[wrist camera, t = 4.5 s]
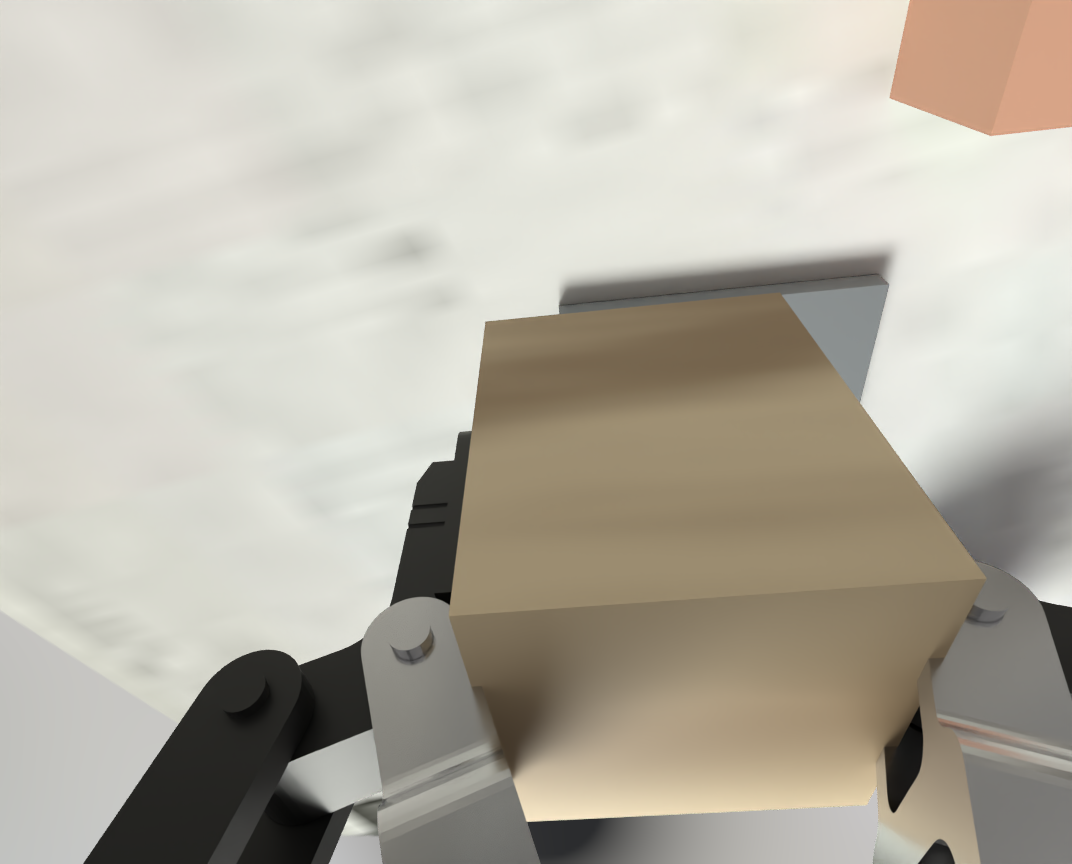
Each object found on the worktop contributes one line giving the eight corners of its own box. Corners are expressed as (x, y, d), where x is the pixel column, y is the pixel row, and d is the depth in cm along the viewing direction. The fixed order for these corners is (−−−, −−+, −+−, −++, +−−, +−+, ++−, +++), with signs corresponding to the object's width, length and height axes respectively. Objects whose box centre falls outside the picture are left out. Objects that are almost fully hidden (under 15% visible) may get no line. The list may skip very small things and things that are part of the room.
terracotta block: (928, -90, 18) (1065, -111, 14) (1105, -115, 18) (1312, -145, 13) (888, 97, 21) (991, 135, 17) (1040, 80, 21) (1189, 113, 16)
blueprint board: (558, 305, 26) (559, 318, 25) (878, 274, 25) (891, 286, 24) (583, 560, 36) (584, 577, 35) (814, 544, 35) (822, 560, 34)
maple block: (485, 322, 11) (448, 616, 6) (780, 292, 10) (986, 578, 6) (520, 522, 14) (514, 822, 9) (749, 504, 13) (866, 805, 9)
